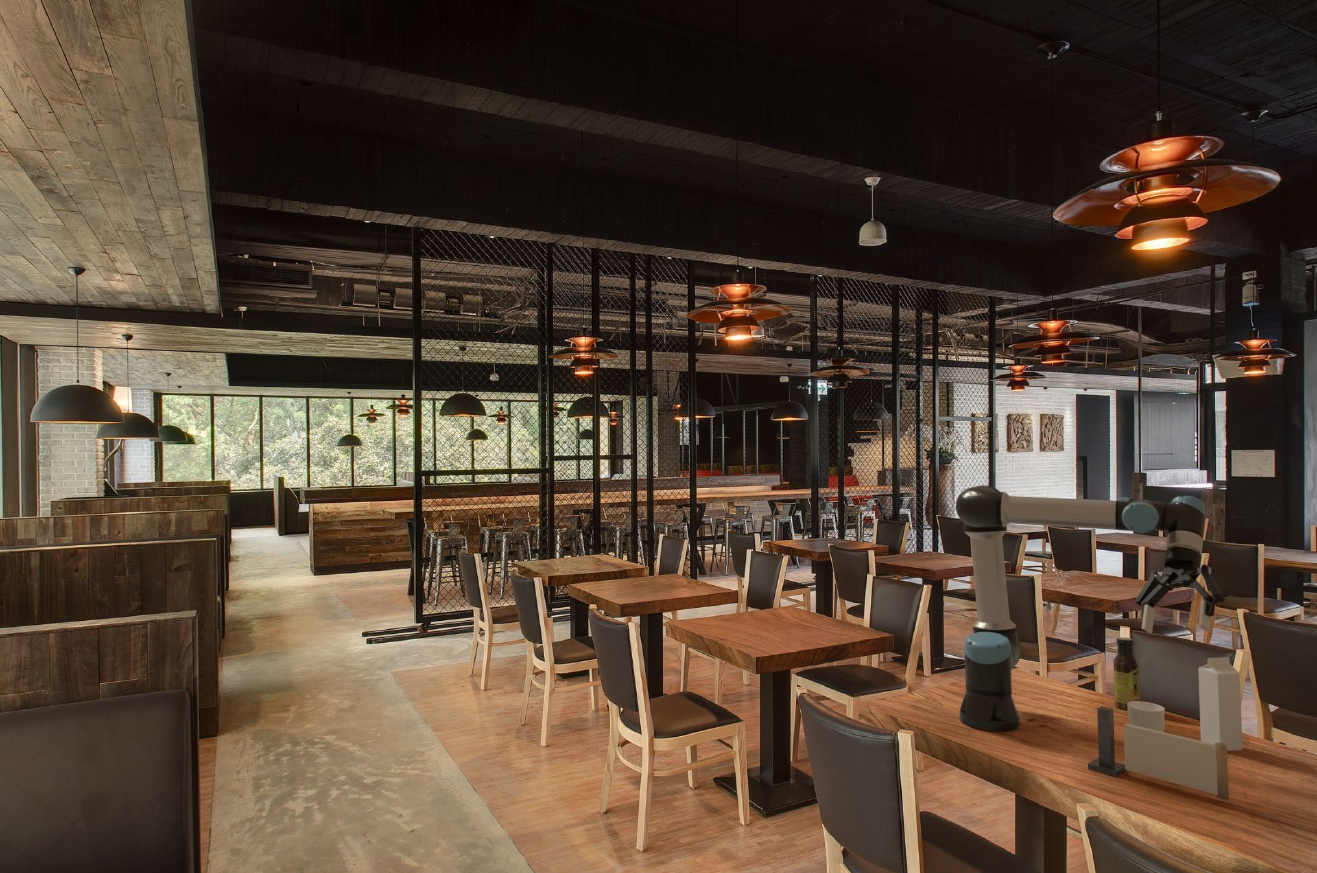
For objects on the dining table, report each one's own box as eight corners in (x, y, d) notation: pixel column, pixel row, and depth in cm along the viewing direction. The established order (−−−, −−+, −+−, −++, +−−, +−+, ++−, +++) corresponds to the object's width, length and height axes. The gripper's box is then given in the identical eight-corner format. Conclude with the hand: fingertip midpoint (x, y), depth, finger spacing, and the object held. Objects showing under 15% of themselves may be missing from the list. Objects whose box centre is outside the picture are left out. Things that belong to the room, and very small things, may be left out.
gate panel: (1124, 771, 168) (1123, 722, 169) (1127, 769, 169) (1126, 721, 170) (1227, 800, 154) (1225, 747, 154) (1229, 798, 155) (1228, 744, 155)
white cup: (1172, 753, 181) (1170, 712, 181) (1136, 751, 183) (1135, 710, 183) (1157, 741, 189) (1155, 702, 189) (1123, 739, 190) (1121, 700, 191)
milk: (1200, 742, 188) (1196, 655, 189) (1222, 741, 189) (1218, 654, 190) (1221, 751, 182) (1217, 661, 183) (1243, 750, 183) (1239, 660, 184)
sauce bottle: (1140, 712, 210) (1137, 642, 211) (1114, 709, 214) (1112, 639, 215) (1139, 706, 216) (1137, 637, 217) (1114, 702, 219) (1112, 635, 220)
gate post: (1088, 769, 172) (1086, 708, 173) (1098, 762, 176) (1096, 702, 177) (1116, 777, 168) (1114, 714, 168) (1126, 770, 171) (1124, 709, 172)
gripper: (1247, 553, 177) (1241, 635, 167) (1145, 566, 199) (1135, 638, 189) (1226, 537, 175) (1219, 619, 166) (1126, 552, 197) (1114, 624, 188)
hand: (1174, 629), depth 178 cm, fingers open, 13 cm apart
